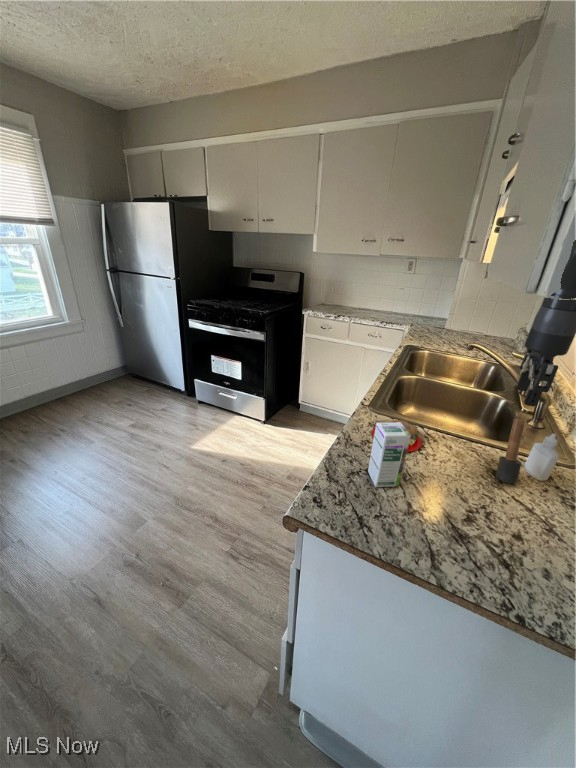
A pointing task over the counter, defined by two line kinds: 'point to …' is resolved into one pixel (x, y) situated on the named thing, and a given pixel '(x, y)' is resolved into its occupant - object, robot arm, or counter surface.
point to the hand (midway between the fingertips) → (524, 397)
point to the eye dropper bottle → (542, 458)
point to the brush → (511, 455)
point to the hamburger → (414, 437)
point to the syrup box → (388, 454)
